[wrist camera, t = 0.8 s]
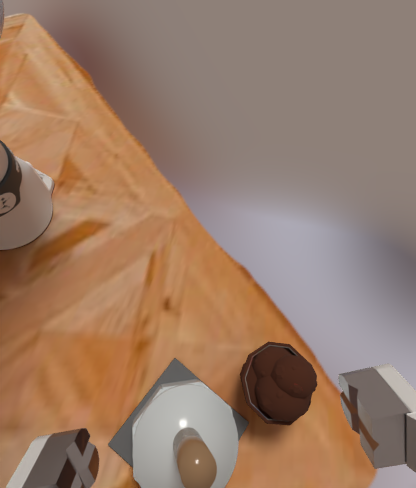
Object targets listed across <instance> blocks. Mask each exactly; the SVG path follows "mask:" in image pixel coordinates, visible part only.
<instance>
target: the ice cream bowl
mask: <svg viewBox="0 0 416 488" xmlns="http://www.w3.org/2000/svg"><path fill="white" fill-rule="evenodd" d="M240 376H241V381H242V386H243V390H244V395H245V399H246V403H247V404H248V406H249V407H251V408H252V409H253V410H254V411H255V412H256V413H257V414H258V415H259V416H260V417H261V418H262V419H263V420H264V421H265V422H266V423H268V424H281V425H291V424H292V423H293V422H294V421H296V420H297V419H298V418H299V417H300V416H302V415H304V414H305V413H306V412H307V411H308V408H309V406H310V404H311V396H312V393H313V392H314V391H315V388H316V386H317V381H316V378H317V375H316V373H315V371H314V369H313V367H312V365H311V364H310V363H309V362H308V361H307V360H306V359H305V358H304V357H303V356H302V355H300V354H299V353H298V352H297V351H296V350H295V349H294V348H293V347H292V346H291V345H290V344H283V343H275V342H267V343H266V344H264V345H263V346H261V347H260V348H258V349H257V350H255V351H254V352H252V353H251V354H249V355H248V358H247V360H246V363H245V364H244V365H243V367H242V370H241V373H240Z"/></svg>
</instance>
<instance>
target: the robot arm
mask: <svg viewBox="0 0 416 488" xmlns="http://www.w3.org/2000/svg"><path fill="white" fill-rule="evenodd" d="M3 26H4V5H3V0H0V38H1V35H2V31H3ZM42 179H43V180H42ZM53 188H54V181H53V180H52V179H51V178H50V177H49V176H47V175H45V174H44V173H42V172H40V171H38V170H37V169H35V168H33V166H32V165H31V164H30V163H29V162H25V161H23V160H22V159H20V158H18V157H16V156H14V154H13V153H12V152H11V150H10V149H9V148H8V147H7V146H6V145H5V144H4V143H3V142H2V141H1V140H0V250H7V249H13V248H17V247H20V246H23V245H25V244H27V243H29V242H31V241H33V240H34V239H36V238H37V237H38V236H39V235H40V234H41V233H42V232H43V231H44V230H45V229H46V227H47V226H48V224H49V222H50V220H51V217H52V212H53V206H52V200H51V194H52V191H53ZM338 379H339V385H340V387H341V388H342V390H343V392H342V393H341V395H340V398H341V404H342V408H343V411H344V414H345V416H346V418H347V421H348V422H349V424H350V426H351V428H352V430H354V431H355V432H357V433H358V434H360V441H361V446H362V448H363V449H364V451H365V453H366V455H367V456H368V458H369V460H370V462H371V463H372V465H373V467H374V469H377V468H383V467H389V466H395V465H401V464H407V466H408V467H409V468H411V469H412V470H413V471H414V472H416V391H415V390H414V389H413V388H412V387H411V385H410V384H409V383H408V382H407V381H406V380H405V379H404V378H403V377H402V376H401V375H400V374H399V373H398V372H397V370H395V368H394V367H393V366H392V365H390V364H384V365H379V366H375V367H371V368H365V369H361V370H356V371H352V372H347V373H343V374H339V378H338ZM89 438H90V434H89V433H88V431H87V429H86V428H82V429H76V430H71V431H65V432H59V433H54V434H50V435H44V436H39V437H37V438H36V439H35V440H34V441H33V442H32V443H31V445H30V447H29V448H28V450H27V452H26V454H25V455H24V457H23V459H22V460H21V462H20V464H19V466H18V467H17V469H16V471H15V473H14V474H13V476H12V478H11V480H10V481H9V483H8V485H7V486H6V488H90V487H91V486H92V485H93V484H94V482H95V480H96V477H97V474H98V469H99V455H98V451H97V449H96V446H95V445H93V444H91V443H90V442H88V441H89Z"/></svg>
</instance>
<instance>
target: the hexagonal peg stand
mask: <svg viewBox="0 0 416 488" xmlns="http://www.w3.org/2000/svg"><path fill="white" fill-rule="evenodd" d="M132 433H133V454H132V456H133V477H134V479H135V480H136V481H137V482H138V483H139V485H140V487H141V488H224V487H225V486H226V484H227V483H228V481H229V479H230V477H231V475H232V473H233V470H234V467H235V464H236V460H237V454H238V433H237V427H236V424H235V420H234V418H233V413H232V409H231V407H230V406H229V405H228V404H226V403H225V402H224V401H223V400H222V399H221V398H220V397H219V396H218V395H216V394H215V393H214V392H213V391H212V390H210V389H209V388H208V387H207V386H206V385H205V384H204V383H202V382H201V381H199V380H198V379H193V380H186V381H180V382H173V383H166V384H161V386H160V385H159V387H158V388H157V389H156V391H155V392H154V393H153V394H152V396H151V397H150V398H149V400H148V401H147V402H146V404H145V405H144V406H143V408H142V409H141V410H140V412H139V413H138V414H137V415H136V417H135V418H134V420H133V426H132Z"/></svg>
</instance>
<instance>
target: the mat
mask: <svg viewBox="0 0 416 488" xmlns="http://www.w3.org/2000/svg"><path fill="white" fill-rule="evenodd" d="M193 379H198V378H197V377H196V376H195V375H194V374H193V373H192V372H191V371H189V370H188V369H187V368H186V367H185V366H184V365H183V364H181V363H180V362H179V361H178V360H177V359H176V358H174V360H173V361H172V362H171V363H170V365H169V366H168V367H167V369H166V370H165V371H164V372H163V374H162V375H161V376H160V378H159V379H158V380H157V382H156V383H155V384H154V385H153V387H152V388H151V389H150V391H149V392H148V393H147V394H146V396H145V397H144V398H143V400H142V401H141V402H140V404H139V405H138V406H137V407H136V409H135V410H134V411H133V413H132V414H131V415H130V417H129V418H128V419H127V420H126V422H125V423H124V424H123V426H122V427H121V428H120V429H119V431H118V432H117V433H116V435H115V436H114V437H113V439H112V440H111V441H110V442H109V444H108V445H109V446H110V447H111V448H112V449H113V450H114V451H116V452H117V453H118V454H119V455H120V456H121V457H122V458H123V459H124V460H125V461H126V462H127V463H129V464H130V465H131V466H132V467H133V456H132V454H133V433H132V426H133V420H134V418H135V417H136V415H137V414H138V413H139V412H140V410H141V409H142V408H143V406H144V405H145V404H146V402H147V401H148V400H149V398H150V397H151V396H152V394H153V393H154V392H155V391H156V389H157V388H158V387H159V385H160V386H161V384H166V383H173V382H180V381H186V380H193ZM198 380H199V381H201V380H200V379H198ZM201 382H202V381H201ZM202 383H203V382H202ZM207 387H208V386H207ZM208 388H209V387H208ZM209 389H210V388H209ZM210 390H211V389H210ZM215 394H216V393H215ZM216 395H217V394H216ZM223 401H224V400H223ZM224 402H225V401H224ZM225 403H226V402H225ZM226 404H227V403H226ZM231 409H232V413H233V418H234V420H235V424H236V427H237V433H238V441H239V439H240V438H241V436H242V434H243V432H244V431H245V429H246V427H247V426H248V424H249V422H248V421H246V420H245V419H244V418H243V417H242V416H241V415H240V414H238V413H237V412H236V411H235V410H234V409H233V408H232V407H231Z"/></svg>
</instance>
